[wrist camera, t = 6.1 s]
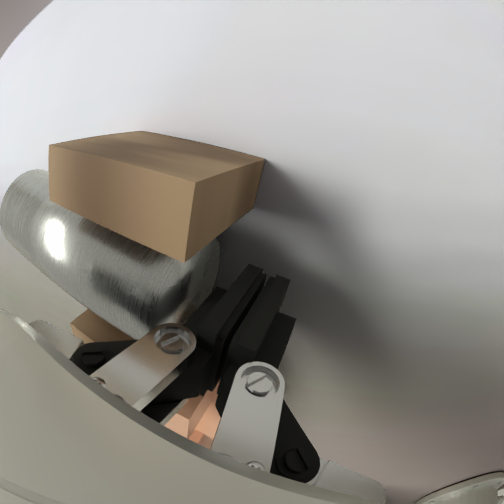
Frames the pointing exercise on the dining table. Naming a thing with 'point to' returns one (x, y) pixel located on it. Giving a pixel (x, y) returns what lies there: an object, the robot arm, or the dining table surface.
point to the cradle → (197, 419)
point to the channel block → (151, 195)
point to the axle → (104, 262)
